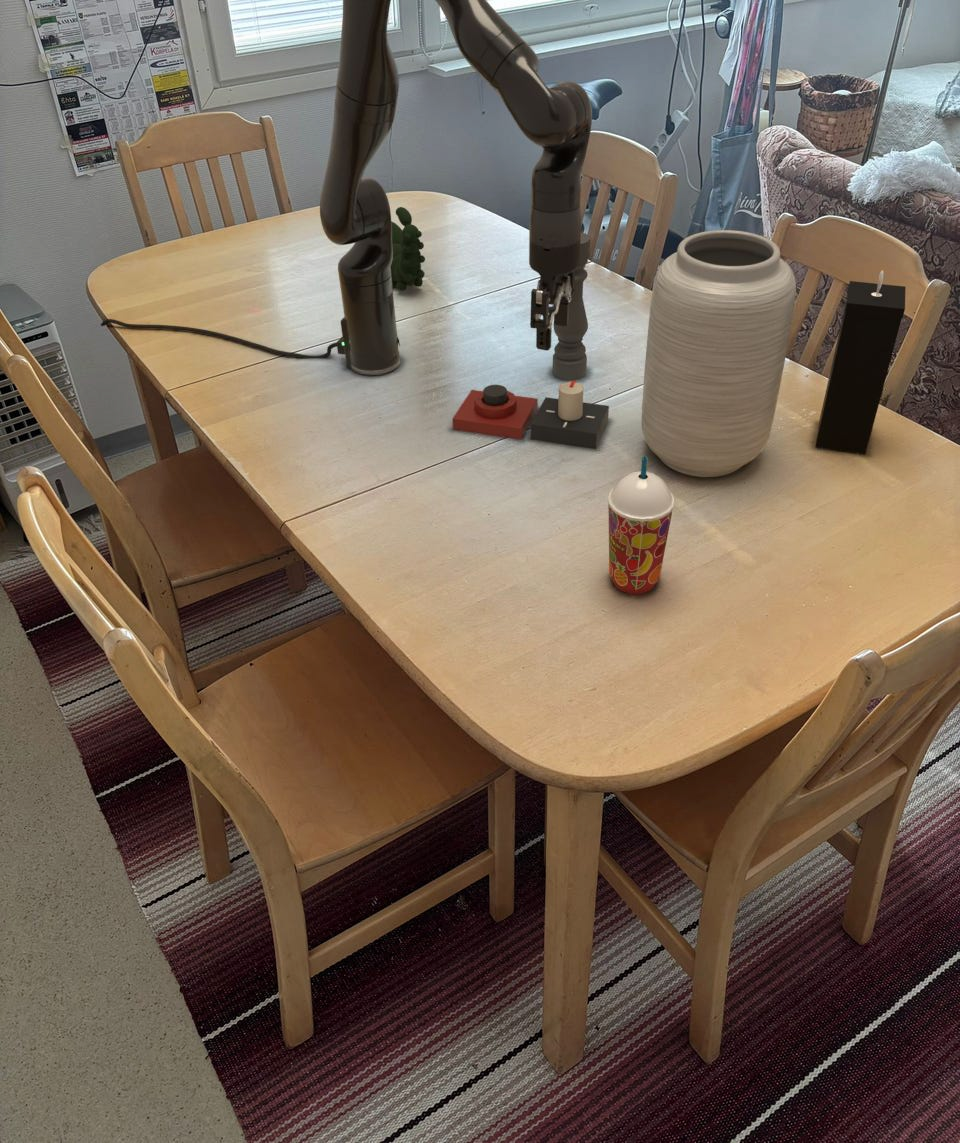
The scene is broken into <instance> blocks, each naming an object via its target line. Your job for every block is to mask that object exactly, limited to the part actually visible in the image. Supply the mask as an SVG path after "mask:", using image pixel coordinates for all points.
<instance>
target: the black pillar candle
mask: <svg viewBox="0 0 960 1143" xmlns="http://www.w3.org/2000/svg"><path fill="white" fill-rule="evenodd" d="M884 274H885V273H884V270H881V271H879V275H878V281H877V283H873V282H864V281H854V280H850V281H849V283H848V288H847V292H846V299H845V303H844V308H843V314H842V317H841V322H840V327H839V330H838V331H839V332H838V335H837V339H836V344H835V349H834V353H833V358H832V362H831V366H830V371H829V375H828V379H827V384H826V390H825V394H824V398H823V403H822V407H821V412H820V416H819V420H818V427H817V431H816V432H817V433H816V439H815V446H814V447H815V448H820V449H822V450H823V449H825V450H832V451H839V452H846V453H853V454H857V455H860V454H861V455H866V454H867V450H868V447H869V443H870V440H871V439H870V438H871V435H872V431H873V428H874V424H875V420H876V417H877V413H878V408H879V405H880V402H881V398H882V394H883V391H884V386H885V383H886V379H887V375H888V372H889V367H890V365H891V360H892V358H893V354H894V350H895V346H896V341H897V337H898V335H899V330H900V326H901V323H902V320H903V318H904V315H905V311H906V286H903V285H894V284H885V283H883V282H884Z"/></svg>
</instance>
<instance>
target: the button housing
mask: <svg viewBox="0 0 960 1143" xmlns="http://www.w3.org/2000/svg"><path fill="white" fill-rule="evenodd" d="M538 402H539V398H535V397H530V396H529V397H528V396H522V395H521V396H520V395H515V393H513V392H511V391H509V390H507V403H506V404H504V405H501V406H488V405H486V404H485V403H484V400H483V390H476V389H471V390H470V392H469V393H468V395H467V396H466V398H465V399H464V401H463V402H462V403H461V405H460V406H459V408H458V410H456V412H455V414H454V416H453V417H452V430H454V431H461V432H467V433H473V434H481V435H486V436H487V435H488V436H494V437H500V438H508V439H514V440H520V441H521V440H522V439H523V437H524V435H525V434H526V432H527V430H528V428H529V426H531V423H532V421H533V419H534V417H535V416H536V414H537V412H538V410H539V407H538V406H539V403H538Z"/></svg>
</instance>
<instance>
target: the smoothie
mask: <svg viewBox="0 0 960 1143" xmlns="http://www.w3.org/2000/svg"><path fill="white" fill-rule="evenodd" d="M640 466H641V468H640V470H638V471H634V472H633V471H632V472H630V473H628V474H626V475H625V476H623V477H621V478H620V479H619V481H618V482H617V483H616V484H615V486H614V487H613V488H612V489H611V490H610V491H609V493H608V496H607V502H608V504H607V505H608V507H607V508H608V510H607V511H608V562H609V563H608V574H609V577H610V579H611V580H612V582H613V585H614V586H615V587H616V588H617V589H618V590H620V591H621V592H624V593H627V594H631V595H638V594H639V595H641V594H644V593H647V592H649V591H651V590H652V589H653V588H654V586H655V585H656V584H657V583H658V582H659V580H660V577H661V572H662V568H663V562H664V556H665V551H666V546H667V541H668V537H669V532H670V531H669V530H670V526H671V520H672V515H673V509H674V507H675V501H676V500H675V498H674V495H673V493H672V492H671V491H670V488H669V487H668V484H667V483H666V481H664V480H663V479H662V477H660V476H659V475H657V474H656V473H653V472H651V471H647V468H648V456H642V457H641V465H640Z"/></svg>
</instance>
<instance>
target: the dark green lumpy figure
mask: <svg viewBox="0 0 960 1143" xmlns="http://www.w3.org/2000/svg"><path fill="white" fill-rule="evenodd" d="M395 215H396V216H397V218H398V221H399V223H400V224H401V225H402V226H403V228H401V226H399V225H398V224H397V222H394V221H392V220H391V223H392V248H393V259H392V264H391V278H392V288H393V289H394V288H397V290H398V291H401V292H402V291H405V290H406V289H407V286H410V285H413V286H415V287H417V288H419V287H422V286H423V282H424V281H423V278H424V277H425V275H426V274H425V272H424V270H423V269H422V264H423V263H425V261H426V257H425V256H424V255H423V254H422V253H421V251H420V250H423V249H424V247H425V244H424V242H422V241H421V240H420V238H421V237H422V235H423V233H422V231H421V230H420V229H419V228H418V227H417V226H416V225H414V224H412V222H413V218H412V214H411V213H410V211H409V210H408V209H407V208H406V207H403V206H400V207H397V208H396V209H395Z"/></svg>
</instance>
